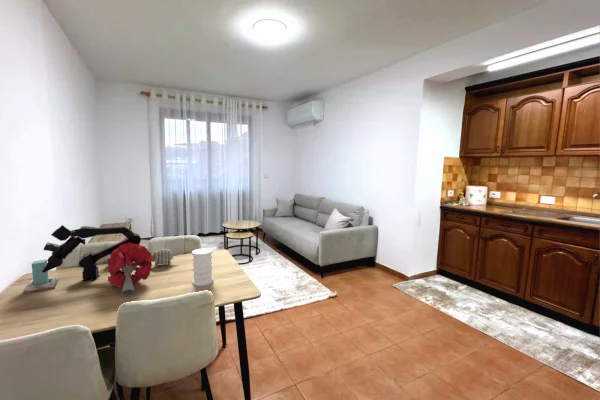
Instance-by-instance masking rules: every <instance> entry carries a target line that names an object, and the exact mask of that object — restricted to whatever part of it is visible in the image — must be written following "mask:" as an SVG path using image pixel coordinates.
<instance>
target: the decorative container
mask: <svg viewBox="0 0 600 400" xmlns="http://www.w3.org/2000/svg"><path fill="white" fill-rule="evenodd" d="M212 254H213V249H212V248H205V247H204V248H202V247H201V248H198V249H197V248H196V249H194V250H192V251H191V255H192V256H193V257H192V266H193V269H192V271H193V274H192V275H193V279H191V280H192V281H191V283H192V285H193V286H195V287H204V286H205V285H206V286H209V285H211V284H213V283H214V281H215V280H214V277H213V272H212V270H213V267H212V264H213V262H212V259H213V257H212ZM212 282H213V283H212ZM210 283H211V284H210ZM206 286H205V287H206Z"/></svg>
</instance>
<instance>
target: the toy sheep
mask: <svg viewBox="0 0 600 400" xmlns="http://www.w3.org/2000/svg"><path fill="white" fill-rule="evenodd" d="M178 255H179V254H178V253H174V252H173V251H172V250H171V249H170V248H160V249H157V250H154V252H153V253H151V257H152V262H151V263H154V265H155V267H156V268H159V265H162V266H164V265H167V264H168V266H171V265H172V262H171V261H172V260H173V258H174V257H177V256H178ZM170 264H171V265H170Z"/></svg>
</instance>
